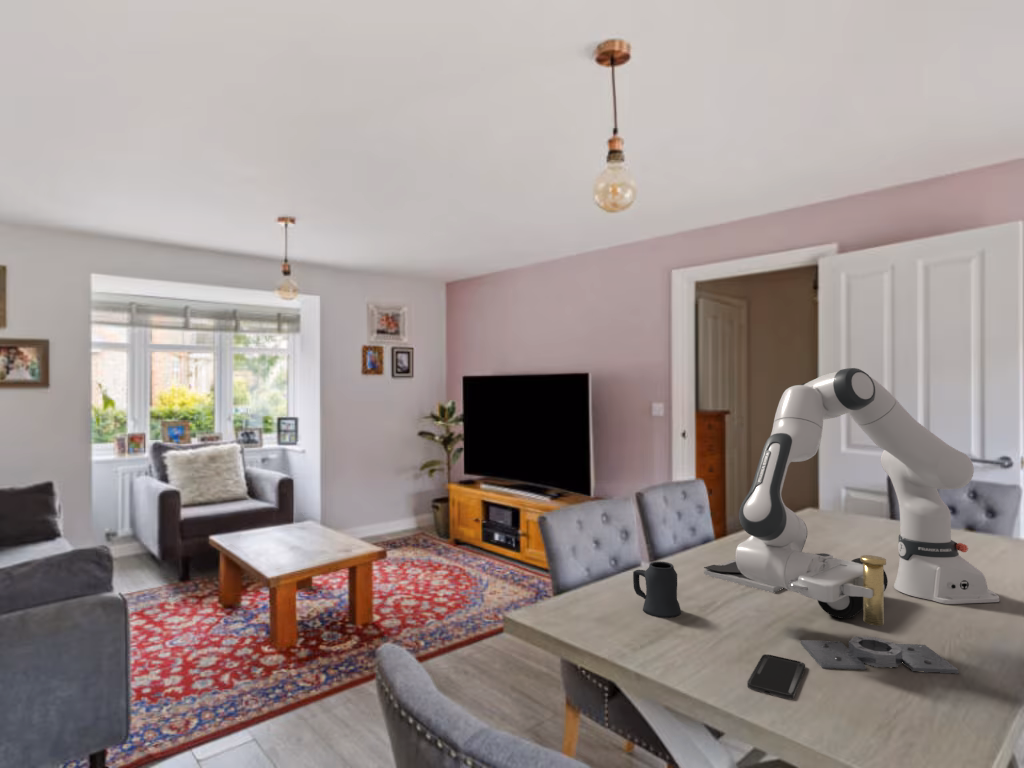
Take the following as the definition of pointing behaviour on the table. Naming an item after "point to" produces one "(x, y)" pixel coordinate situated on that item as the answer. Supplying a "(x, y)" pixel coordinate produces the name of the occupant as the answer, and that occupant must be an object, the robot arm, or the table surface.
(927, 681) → the table surface
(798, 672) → the phone
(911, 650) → the hinge body
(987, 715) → the table surface
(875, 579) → the pin
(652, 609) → the mug
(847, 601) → the portable speaker
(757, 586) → the picture frame
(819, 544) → the table surface
